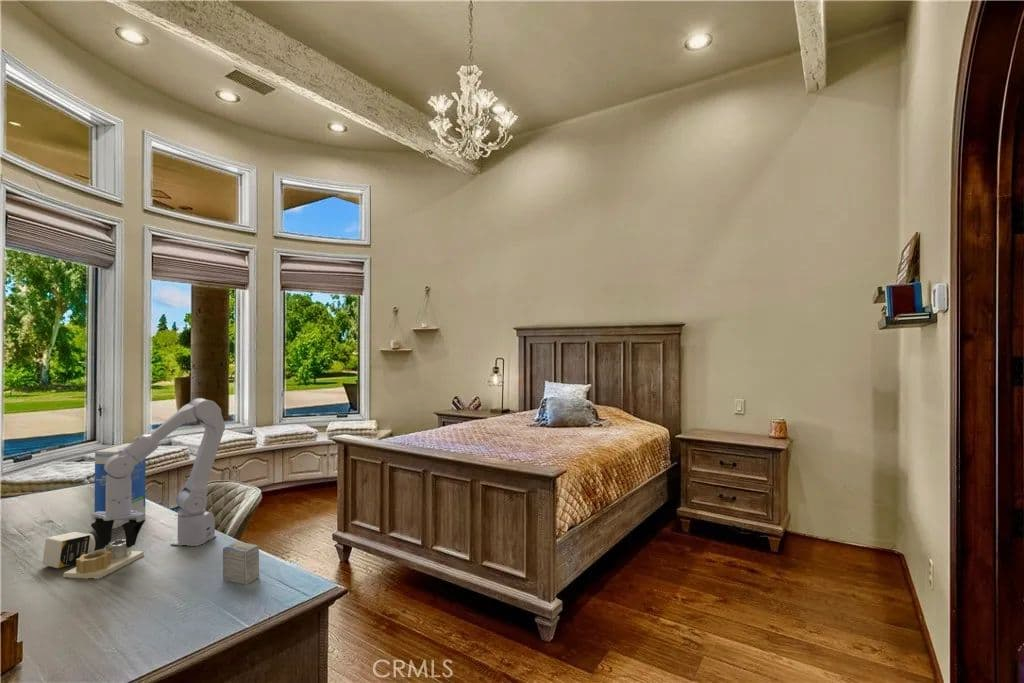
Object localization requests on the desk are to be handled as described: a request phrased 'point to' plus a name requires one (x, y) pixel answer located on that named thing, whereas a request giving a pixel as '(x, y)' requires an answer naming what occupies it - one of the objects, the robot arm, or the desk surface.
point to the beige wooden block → (240, 562)
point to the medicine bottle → (69, 548)
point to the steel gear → (118, 549)
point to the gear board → (100, 563)
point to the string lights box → (100, 481)
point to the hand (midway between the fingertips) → (118, 545)
